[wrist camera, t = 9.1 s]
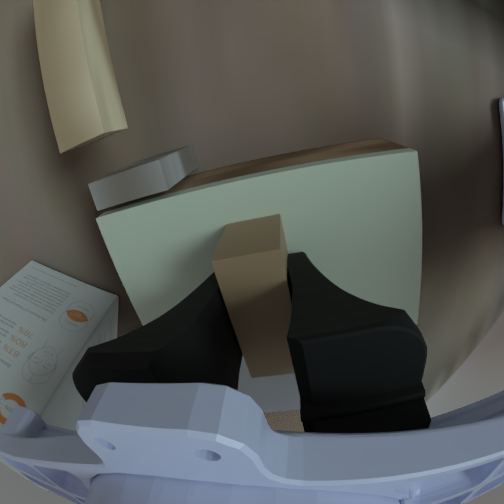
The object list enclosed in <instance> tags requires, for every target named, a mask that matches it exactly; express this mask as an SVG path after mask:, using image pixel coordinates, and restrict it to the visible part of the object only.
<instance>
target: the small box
mask: <svg viewBox="0 0 504 504" xmlns="http://www.w3.org/2000/svg"><path fill="white" fill-rule="evenodd" d="M118 304H119V297H118V296H117V295H115V294H112V293H109V292H106V291H104V290H101V289H99V288H96V287H94V286H91V285H89V284H86V283H84V282H81V281H79V280H77V279H74V278H72V277H69V276H67V275H65V274H62V273H60V272H57V271H55V270H53V269H51V268H48V267H46V266H44V265H41V264H39V263H37V262H35V261H33V260H31V261H30V262H29V263H28V264H27V265H26V266H24V267H23V268H22V269H21V270H20V271H18V272H17V273H16V274H15V275H14V276H13V277H11V278H10V279H9V280H8V281H7V282H6V283H5V284H3V285H2V286H1V287H0V430H1V428H2V427H3V425H4V424H5V422H6V420H7V419H8V417H9V416H10V414H11V412H12V411H13V409H14V408H15V406H16V405H18V406H22V407H25V408H29V409H31V410H33V411H35V412H36V413H37V414H38V415H39V416H40V417H41V418H42V419H43V420H44V421H45V423H46V424H49V425H53V426H57V427H61V428H65V429H69V430H73V431H76V424H77V420H78V418H79V416H80V415H81V413H82V411H83V409H84V407H85V405H86V402H85V400H84V399H83V398H82V397H81V395H80V394H79V392H78V391H77V389H76V387H75V385H74V382H73V378H72V373H73V371H74V369H75V367H76V366H77V364H78V363H79V361H80V360H81V358H82V357H83V355H84V354H85V352H86V350H87V349H88V348H89V347H92V346H95V345H98V344H101V343H104V342H107V341H110V340H113V339H116V338H117V328H118ZM0 462H2V463H3V464H5V465H6V466H8V467H9V468H10V469H12V470H13V471H15V472H16V473H18V474H20V475H21V476H23V475H22V474H21V473H20V472H18V471H17V470H16V469H15V468H14V467H12V466H11V465H10V464H9V463H8V462H6V461H5V460H4V459H3V458H2V457H1V456H0ZM23 477H24V478H26V477H25V476H23ZM26 479H27V478H26ZM27 480H29V479H27ZM29 481H30V480H29ZM34 484H35V483H34ZM36 485H37V484H36ZM38 486H39V485H38ZM39 487H41V486H39ZM41 488H43V487H41ZM43 489H44V490H46V491H48V492H50V491H49V490H47V489H45V488H43Z"/></svg>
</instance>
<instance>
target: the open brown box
mask: <svg viewBox="0 0 504 504" xmlns="http://www.w3.org/2000/svg"><path fill="white" fill-rule="evenodd" d="M406 148H408V147H405V146H402V145H399V144H396V143H393V142H390V141H387V140H384V139H374V140H367V141H359V142H352V143H345V144H339V145H332V146H326V147H320V148H314V149H308V150H303V151H297V152H292V153H287V154H282V155H277V156H272V157H267V158H262V159H257V160H252V161H248V162H243V163H239V164H235V165H230V166H226V167H222V168H218V169H213V170H209V171H205V172H201V173H197V174H194V175H190V176H187V175H188V174H190V173H191V172H192V171H194V170H195V169H196V168H198V167H197V164H196V160H195V156H194V153H193V149H192V145H190V146H186V147H183V148H179V149H176V150H173V151H169V152H166V153H163V154H160V155H156V156H153V157H150V158H147V159H144V160H141V161H138V162H135V163H132V164H130V165H128V166H126V167H123V168H121V169H119V170H117V171H115V172H113V173H110V174H108V175H106V176H104V177H102V178H100V179H98V180H96V181H94V182H92V183H90V184H88V186H89V189H90V192H91V195H92V198H93V200H94V203H95V206H96V209H97V211H99V210H102V209H105V208H108V207H111V208H110V209H108V210H107V211H110V210H113V209H116V208H120V207H123V206H127V205H130V204H133V203H137V202H140V201H144V200H147V199H151V198H155V197H158V196H162V195H166V194H169V193H173V192H177V191H181V190H185V189H189V188H193V187H197V186H201V185H205V184H209V183H213V182H218V181H222V180H226V179H231V178H235V177H240V176H244V175H249V174H253V173H258V172H263V171H268V170H273V169H278V168H283V167H288V166H293V165H299V164H304V163H310V162H316V161H321V160H327V159H334V158H340V157H346V156H353V155H360V154H366V153H374V152H381V151H389V150H397V149H406ZM112 206H113V207H112ZM107 211H105V212H107Z"/></svg>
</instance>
